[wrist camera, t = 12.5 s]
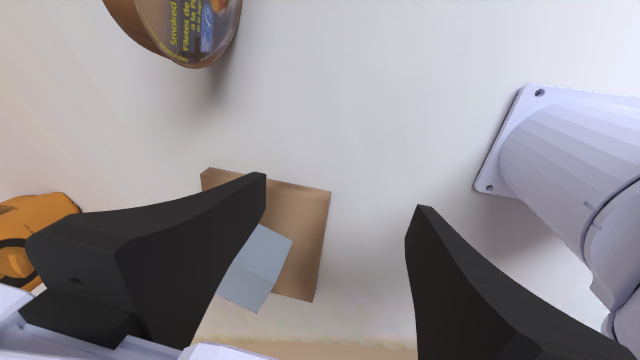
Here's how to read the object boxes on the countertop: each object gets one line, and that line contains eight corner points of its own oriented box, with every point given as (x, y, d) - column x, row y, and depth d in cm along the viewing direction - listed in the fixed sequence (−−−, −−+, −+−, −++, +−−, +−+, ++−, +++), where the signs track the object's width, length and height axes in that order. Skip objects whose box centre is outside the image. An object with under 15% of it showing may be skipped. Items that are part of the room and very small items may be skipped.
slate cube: (293, 241, 24) (275, 283, 20) (275, 270, 27) (256, 313, 22) (247, 217, 24) (219, 255, 20) (234, 249, 26) (206, 289, 22)
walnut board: (331, 191, 22) (328, 200, 21) (315, 291, 29) (312, 302, 28) (209, 167, 24) (199, 174, 22) (221, 267, 31) (214, 277, 29)
